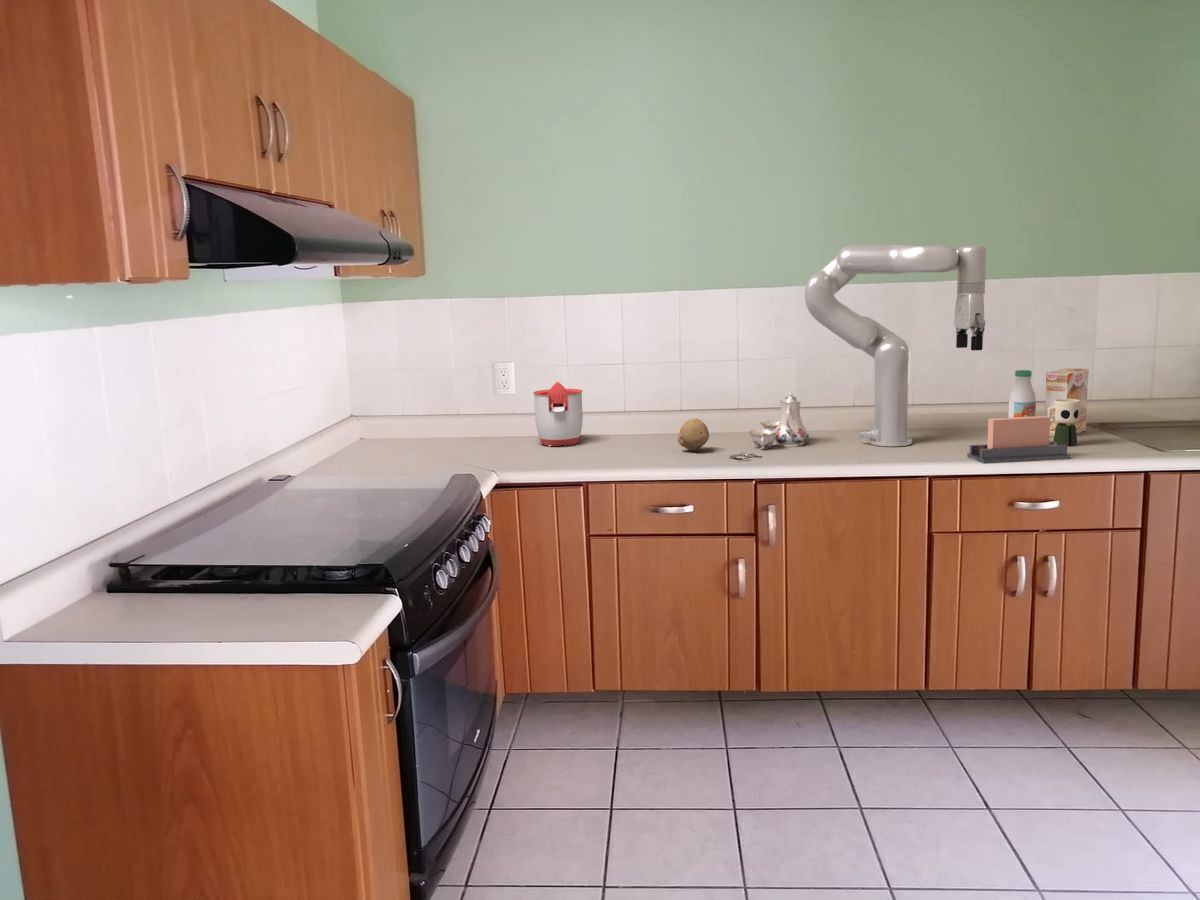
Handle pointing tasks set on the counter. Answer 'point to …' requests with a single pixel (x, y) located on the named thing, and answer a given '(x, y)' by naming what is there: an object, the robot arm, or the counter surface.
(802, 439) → the chinaware
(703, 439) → the brown round lump
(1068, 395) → the coffeecake box
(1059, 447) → the door track
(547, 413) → the citrus juicer
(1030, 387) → the milk bottle
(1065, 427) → the character mug
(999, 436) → the door panel
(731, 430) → the counter surface
